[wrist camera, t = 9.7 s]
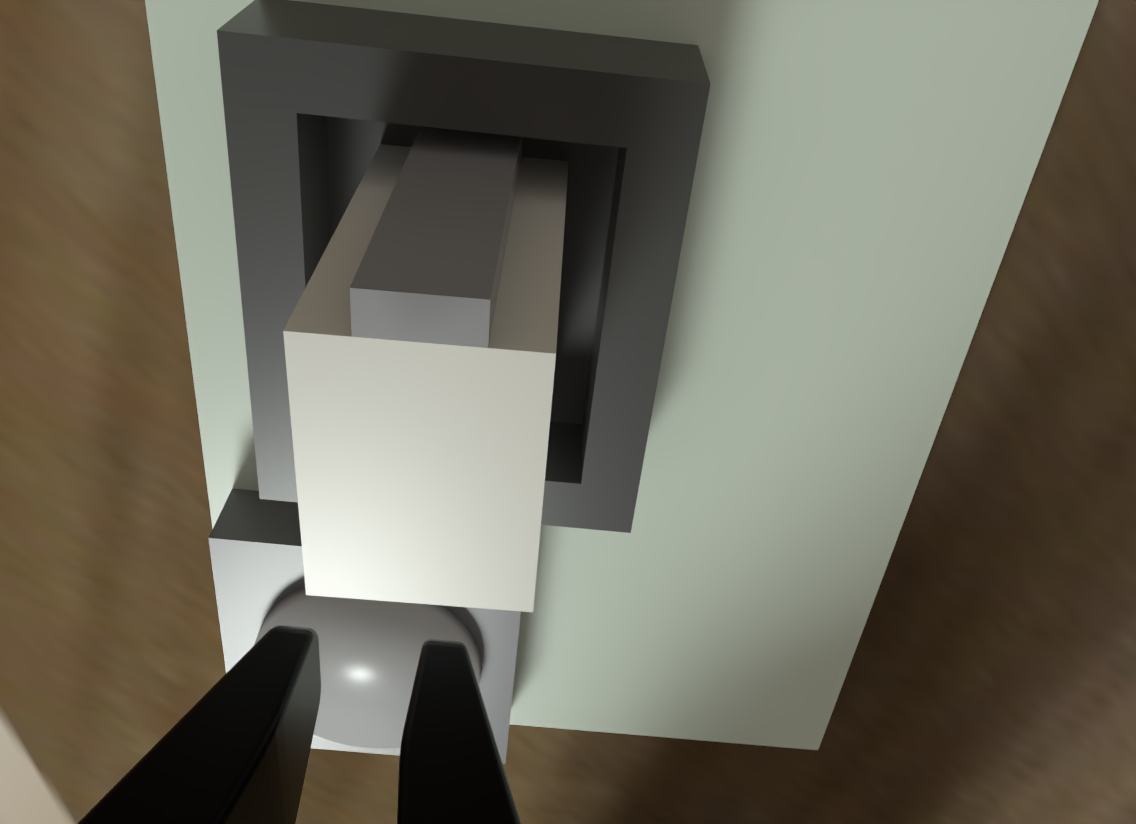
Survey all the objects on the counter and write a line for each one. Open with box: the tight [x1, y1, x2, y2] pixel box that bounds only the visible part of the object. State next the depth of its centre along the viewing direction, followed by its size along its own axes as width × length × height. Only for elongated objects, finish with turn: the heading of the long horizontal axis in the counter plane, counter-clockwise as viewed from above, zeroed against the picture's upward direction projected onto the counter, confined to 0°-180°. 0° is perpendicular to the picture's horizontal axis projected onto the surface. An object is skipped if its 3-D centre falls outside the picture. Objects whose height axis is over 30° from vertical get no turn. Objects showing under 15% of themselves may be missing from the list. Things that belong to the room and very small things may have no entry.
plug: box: [283, 126, 569, 612], centre depth 15 cm, size 5×3×6 cm, turn 176°
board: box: [145, 0, 1099, 764], centre depth 19 cm, size 18×14×3 cm
